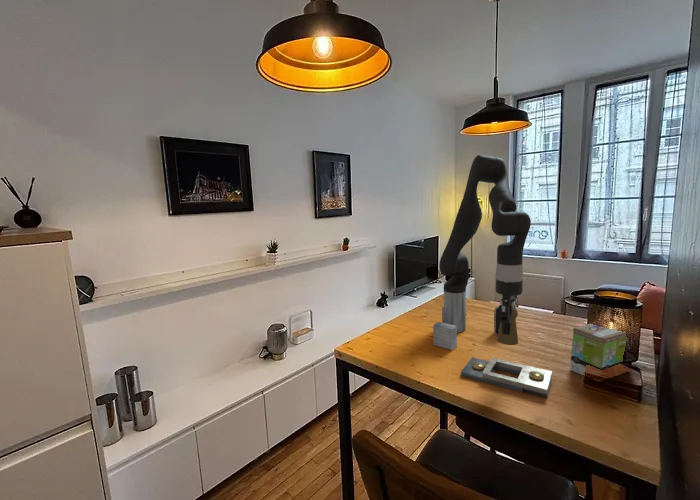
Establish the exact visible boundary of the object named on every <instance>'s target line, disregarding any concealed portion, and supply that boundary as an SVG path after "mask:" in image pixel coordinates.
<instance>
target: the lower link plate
mask: <svg viewBox="0 0 700 500" xmlns="http://www.w3.org/2000/svg"><path fill="white" fill-rule="evenodd" d="M489 362H490V360H485V359H481V358H478V357H474V356H472V357H471V358H470V359H469V361H468V362H467V363H466V365H465V366H464V367H463V369H462V370H461V371H460V377H463V378H466V379H470V380H474V381H477V382H481V383H485V384H489V385H491V386H496V387H499V388H504V389H507V390H511V391H515V392H517V393H522V394H523V393H524V388H520V387H516V386H513V385H509V384H505V383H501V382H497V381H494V380H490V379H486V378H482V373H483V371H484V369H485V368H486V366H487V365H488V363H489ZM496 371H499V372H504V373H508V374H511V375H512V374H513V375H516V376H519V375H520V372H521V371H517V370H512V369H508V368H504V367H500V366H496V367H495V368H494V370H493V373H496Z"/></svg>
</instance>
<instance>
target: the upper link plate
mask: <svg viewBox="0 0 700 500" xmlns="http://www.w3.org/2000/svg"><path fill="white" fill-rule="evenodd" d="M489 361H490V362H489V363H488V365H487V366H486V368H485V369H484V371H483V373H482V378H486V379H490V380H494V381H497V382H501V383H505V384H509V385H513V386H516V387H520V388H524V391H523V393H524V392H525V393H528V394H531V395H532V394H533V395H537V396H540V397H542V398H543V397H544V398H548V397H549V396H548V395H549V392H550V389H551V385H552V377H553V371H552V370H548V369H543V368H539V367H535V366H531V365H526V364H521V363H517V362H513V361H507V360H503V359H499V358H495V357H491V358H490V360H489ZM496 366H500V367H504V368H508V369H512V370H517V371H521V372H520V375H518V377H517V378H516V377H513V376H512V377H511V376H509V375H505V374H502V373H501V374H499V373H496V372H494V373H493V370H494V368H495V367H496Z"/></svg>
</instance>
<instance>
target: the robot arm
mask: <svg viewBox="0 0 700 500" xmlns="http://www.w3.org/2000/svg"><path fill="white" fill-rule="evenodd" d="M479 182H480V183H481V182H482V183H489V184H494V186H493V187H492V188H491V189H490V191H489V194H488V202H489V205H490V209H491V211H492V218H491V231H492V232H493V234H494V235H497V236H498V237H499V236H500V237H508V236H511V237H512V236H513V238H512V239H511V240H510V241H508V242H504V243H500V244H499V245H497V248H496V268H495V292H496V293H497V294H498V295H501V296H502V298H500V299H499V300H500V301H499V305H498V306H499V314H500V322H502V333H503V334H507V335H509V334H510V323H511V316H512V315H513V309H514V308H516V309H517V303H518V296H521V295H522V293H523V285H524V284H523V281H524V269H523V258H524V257H523V256H524V254H523V253H524V248H525V244H526V241H527V237H528V234H529V231H530V230H531V225H532V220H531V217H530V215H529V214H528V213H527V212H525V211H517V203H516V201H515V198H514V197H513V195H512V192H511V189H510V184H509V176H508V170H507V165H506V163H505V160H504V159H503V158H501V157H497V156H491V155H484V154H477V155H476V156H475V157H474V159H473V161H472V164H471V166H470V169H469V174H468V177H467V181H466V186H465V189H464V194H463V196H462V199H461V201H460V202H461V203H460V205H459V208H458V211H457V214H456V217H455V220H454V223H453V226H452V230H451V233H450V235H449V238H448V241H447V243H446V246H445V247H444V250H443V251H442V254H441V257H440V259H439V265H438V267H439V272H440V273H441V274H442V275H443V276H444V277H450V278H449V279H448V280H447V281H446V282H444V283H443V306H442V307H441V322H442V323H447V324H451V325H455V326H457V333H460V332H464V331H466V329H467V328H466V327H467V326H466V320H467V319H466V318H467V317H466V316H467V311H466V310H467V308H466V307H467V306H466V304H467V301H466V300H467V285H468V284H469V283H468V282H469V273H470V271H469V269H470V267H469V266H470V265H469V260H468V257H467V256H466V254H464V253H461V251H462V250H463V248H464V247H465V246H466V245H467V243H469V242H470V241H471V239H472V238H473V237H474V236H475V234H476V233H477V231H478V229H479V227H480V224H481V221H482V218H483V213H482V212H483V211H482V207H481V204H480V202H479V197H478V193H477V192H478V191H477V190H478V185H479ZM509 311H511V312H510V313H509ZM504 317H507V319H505V318H504Z"/></svg>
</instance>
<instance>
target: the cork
mask: <svg viewBox="0 0 700 500" xmlns="http://www.w3.org/2000/svg"><path fill="white" fill-rule="evenodd" d="M510 312H511V311H509V313H510ZM517 317H518V309H517V307H516V308H514V309H513V315H512V316H511V323H510V334H509V335H507V334H503V333H502V322H500V326H499V332H498V334H497V339H496V340H497V342H498V343H500V344H503V345H507V346H515V345H517V344H519V337H518V329H517V320H516V319H517ZM504 318H505V319H507V317H504Z"/></svg>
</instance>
